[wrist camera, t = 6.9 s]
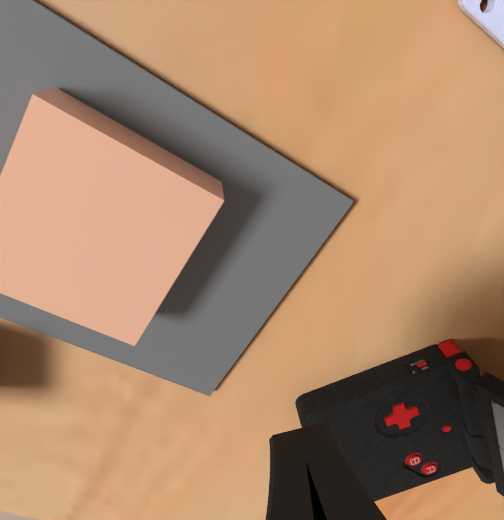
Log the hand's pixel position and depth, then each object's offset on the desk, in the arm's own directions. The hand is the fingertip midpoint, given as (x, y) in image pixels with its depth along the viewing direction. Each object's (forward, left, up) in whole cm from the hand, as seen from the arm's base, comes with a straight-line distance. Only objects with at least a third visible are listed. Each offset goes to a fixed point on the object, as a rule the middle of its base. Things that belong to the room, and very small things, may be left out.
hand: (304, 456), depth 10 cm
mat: (+5, +1, -10) cm, 11 cm away
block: (+3, +1, -8) cm, 9 cm away
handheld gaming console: (-13, +4, -10) cm, 17 cm away
